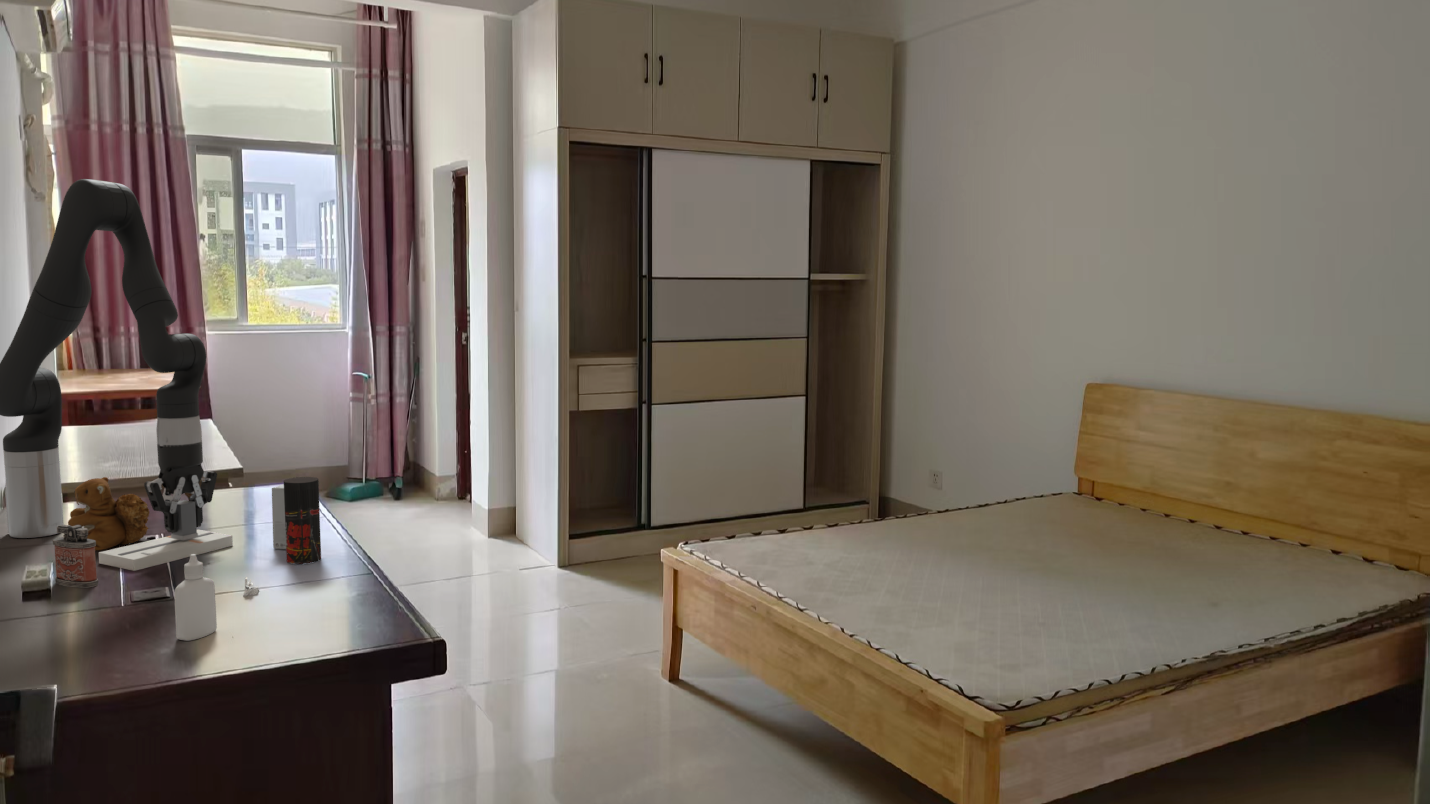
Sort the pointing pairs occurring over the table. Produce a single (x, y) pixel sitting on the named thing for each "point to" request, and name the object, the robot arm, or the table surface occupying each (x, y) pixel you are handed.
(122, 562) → the panel
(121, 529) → the stuffed squirrel
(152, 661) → the table surface
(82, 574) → the lighter
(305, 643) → the table surface
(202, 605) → the eye dropper bottle
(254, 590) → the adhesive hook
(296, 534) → the deodorant
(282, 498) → the skincare box
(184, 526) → the fader
